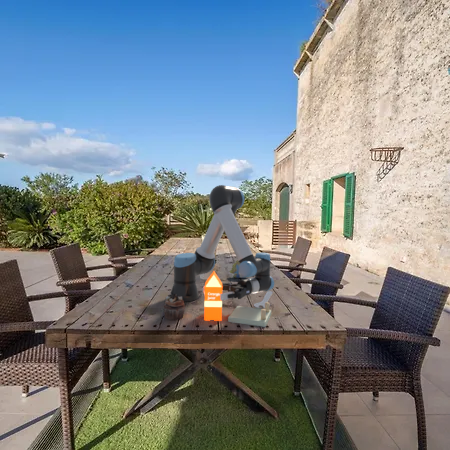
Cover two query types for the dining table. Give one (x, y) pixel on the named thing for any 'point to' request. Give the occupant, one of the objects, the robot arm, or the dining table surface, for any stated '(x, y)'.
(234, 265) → the globe
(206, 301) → the orange juice
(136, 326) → the dining table surface
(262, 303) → the wrench
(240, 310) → the plinth
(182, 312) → the cupcake
